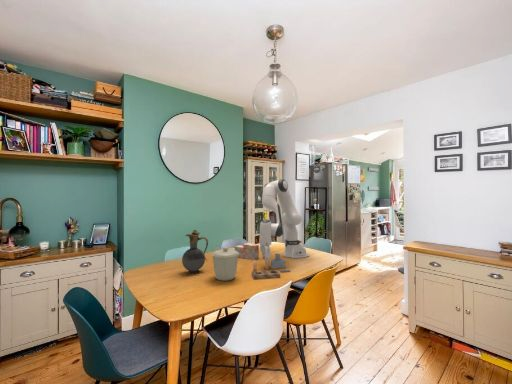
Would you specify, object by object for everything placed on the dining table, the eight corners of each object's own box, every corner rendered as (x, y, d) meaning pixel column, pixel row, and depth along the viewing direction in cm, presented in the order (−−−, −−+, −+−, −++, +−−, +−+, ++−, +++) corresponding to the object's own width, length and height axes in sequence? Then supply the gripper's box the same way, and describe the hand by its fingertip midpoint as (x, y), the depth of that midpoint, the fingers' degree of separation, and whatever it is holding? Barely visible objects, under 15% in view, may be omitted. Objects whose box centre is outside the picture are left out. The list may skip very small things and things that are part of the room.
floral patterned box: (234, 256, 215) (234, 242, 215) (238, 255, 220) (238, 241, 220) (255, 260, 203) (254, 245, 203) (258, 258, 208) (258, 244, 208)
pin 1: (256, 270, 179) (256, 260, 179) (256, 271, 176) (256, 261, 176) (252, 270, 178) (252, 260, 178) (253, 271, 176) (253, 261, 175)
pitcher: (180, 272, 174) (180, 230, 173) (205, 267, 185) (204, 227, 185) (185, 276, 165) (185, 232, 165) (211, 271, 176) (211, 229, 176)
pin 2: (267, 268, 181) (267, 259, 181) (268, 269, 179) (268, 260, 179) (264, 269, 181) (264, 259, 181) (265, 270, 178) (265, 260, 178)
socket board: (276, 273, 171) (276, 269, 171) (280, 277, 163) (280, 273, 163) (251, 275, 167) (251, 271, 167) (253, 279, 160) (253, 275, 160)
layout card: (289, 270, 177) (289, 268, 177) (290, 271, 174) (290, 270, 174) (279, 271, 176) (279, 269, 176) (281, 272, 173) (281, 270, 173)
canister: (206, 277, 163) (206, 246, 163) (229, 271, 175) (229, 242, 175) (221, 285, 149) (221, 251, 149) (244, 278, 161) (244, 246, 161)
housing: (283, 265, 189) (283, 252, 189) (285, 267, 184) (285, 254, 184) (270, 266, 187) (270, 253, 187) (272, 268, 182) (272, 255, 182)
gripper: (272, 244, 170) (272, 264, 170) (266, 239, 190) (266, 257, 190) (264, 245, 169) (263, 265, 169) (258, 239, 189) (258, 257, 189)
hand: (265, 260), depth 180 cm, fingers open, 8 cm apart
